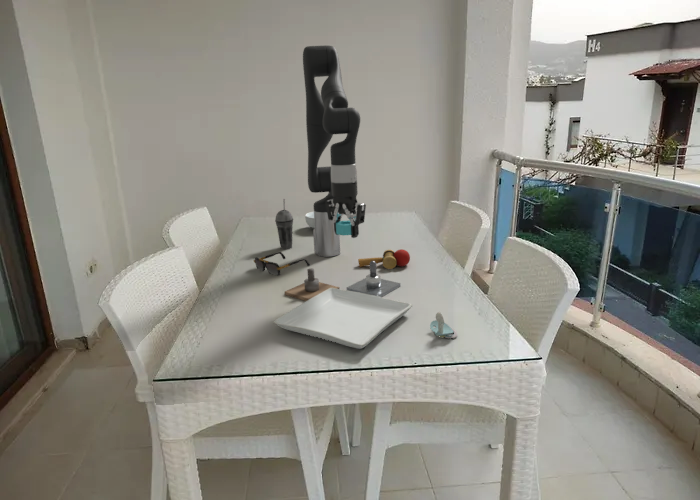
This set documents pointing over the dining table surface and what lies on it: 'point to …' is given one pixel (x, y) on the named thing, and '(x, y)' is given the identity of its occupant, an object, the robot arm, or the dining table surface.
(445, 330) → the pacifier
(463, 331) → the dining table surface
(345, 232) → the ring
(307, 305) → the square plate
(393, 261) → the kendama
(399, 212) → the dining table surface
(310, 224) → the cereal bowl
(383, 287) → the hub
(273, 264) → the sunglasses
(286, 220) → the beverage cup
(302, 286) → the rod stand
